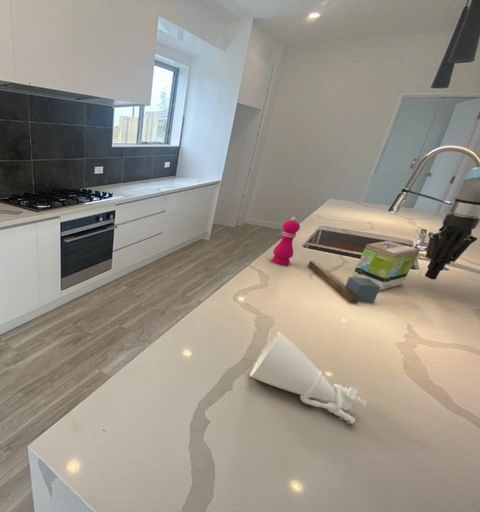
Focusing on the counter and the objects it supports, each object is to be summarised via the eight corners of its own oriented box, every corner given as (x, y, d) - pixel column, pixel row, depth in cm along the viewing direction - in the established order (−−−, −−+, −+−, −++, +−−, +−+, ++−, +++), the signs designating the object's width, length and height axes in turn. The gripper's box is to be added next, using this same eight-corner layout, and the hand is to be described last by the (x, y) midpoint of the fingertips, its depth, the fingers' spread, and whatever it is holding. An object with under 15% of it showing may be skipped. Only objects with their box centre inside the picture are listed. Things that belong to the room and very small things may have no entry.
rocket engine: (390, 385, 53) (284, 325, 61) (362, 443, 50) (255, 372, 59) (358, 389, 62) (271, 338, 71) (333, 438, 60) (246, 378, 69)
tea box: (381, 291, 106) (399, 253, 100) (349, 279, 115) (364, 243, 109) (403, 285, 112) (421, 248, 106) (371, 273, 120) (387, 239, 114)
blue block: (373, 302, 99) (380, 286, 96) (353, 300, 100) (360, 284, 97) (362, 293, 104) (368, 278, 102) (343, 291, 105) (349, 276, 103)
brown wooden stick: (356, 303, 98) (359, 297, 97) (350, 302, 98) (353, 296, 97) (313, 266, 125) (315, 260, 124) (308, 265, 125) (309, 260, 124)
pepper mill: (271, 257, 132) (284, 213, 125) (290, 261, 129) (305, 216, 121) (269, 262, 127) (282, 217, 119) (289, 267, 123) (304, 220, 115)
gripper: (475, 214, 102) (441, 275, 112) (432, 210, 104) (402, 271, 114) (498, 220, 96) (460, 284, 105) (451, 216, 98) (417, 280, 107)
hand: (430, 277), depth 109 cm, fingers closed
